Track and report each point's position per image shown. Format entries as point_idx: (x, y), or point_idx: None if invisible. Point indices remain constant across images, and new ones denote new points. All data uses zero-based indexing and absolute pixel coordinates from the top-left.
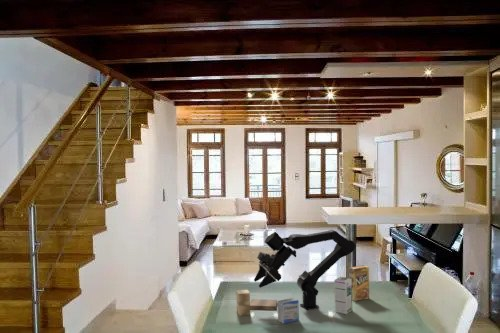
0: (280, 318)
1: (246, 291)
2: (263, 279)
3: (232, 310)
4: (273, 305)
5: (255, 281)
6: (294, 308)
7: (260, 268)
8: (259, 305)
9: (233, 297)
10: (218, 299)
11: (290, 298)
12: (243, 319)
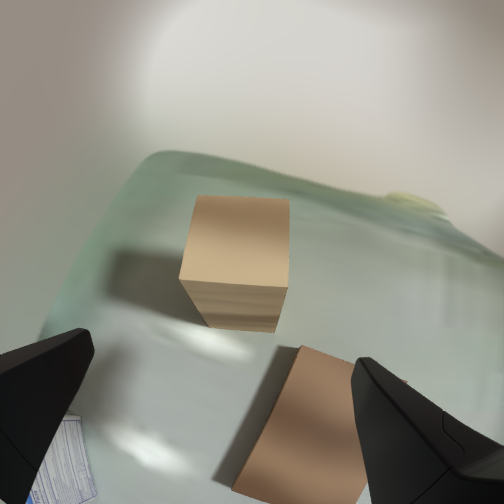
0: None
1: (232, 264)
2: (1, 360)
3: (299, 257)
4: (250, 483)
5: (351, 379)
6: None
7: (478, 490)
8: (281, 406)
9: (466, 299)
10: (444, 233)
11: (30, 501)
12: (159, 275)
